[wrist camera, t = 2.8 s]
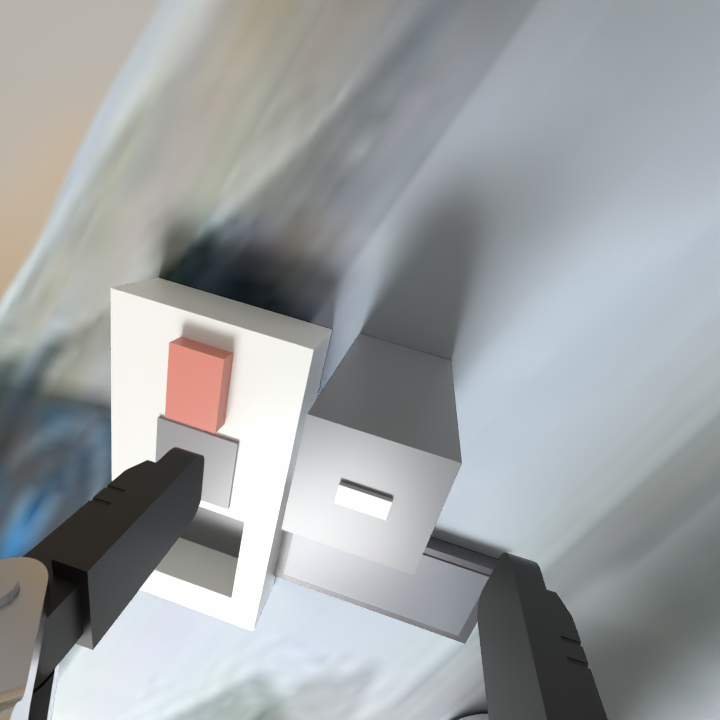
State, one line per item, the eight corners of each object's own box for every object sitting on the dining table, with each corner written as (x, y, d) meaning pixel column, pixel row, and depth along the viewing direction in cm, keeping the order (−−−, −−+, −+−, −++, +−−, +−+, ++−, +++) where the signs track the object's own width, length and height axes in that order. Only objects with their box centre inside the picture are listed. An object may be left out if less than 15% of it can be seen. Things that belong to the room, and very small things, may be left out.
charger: (451, 360, 18) (462, 466, 10) (422, 438, 19) (413, 579, 12) (359, 333, 18) (305, 416, 11) (339, 412, 20) (279, 532, 12)
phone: (501, 561, 21) (504, 574, 20) (464, 629, 23) (465, 644, 22) (294, 491, 22) (289, 501, 21) (278, 564, 24) (272, 576, 23)
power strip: (332, 329, 18) (307, 356, 15) (273, 585, 25) (246, 645, 21) (158, 277, 19) (95, 291, 15) (147, 540, 26) (101, 591, 22)
